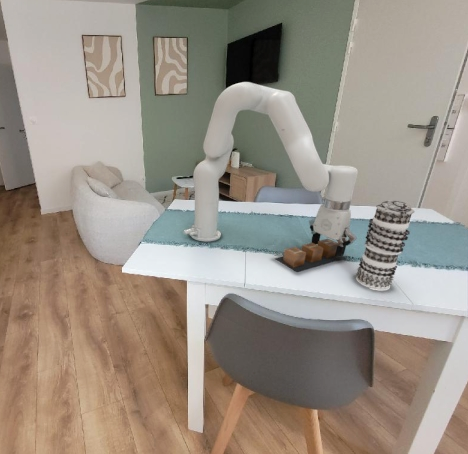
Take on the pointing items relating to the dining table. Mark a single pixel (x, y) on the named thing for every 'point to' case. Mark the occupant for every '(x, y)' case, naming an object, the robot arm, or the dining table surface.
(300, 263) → the brown wooden cube
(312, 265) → the word mat
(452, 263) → the dining table surface
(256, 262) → the dining table surface
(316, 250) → the brown cube
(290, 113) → the robot arm
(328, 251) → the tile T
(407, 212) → the decorative candle
